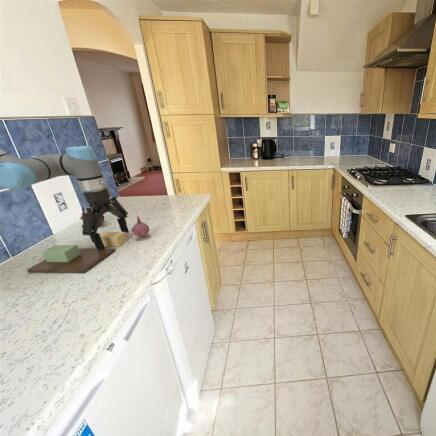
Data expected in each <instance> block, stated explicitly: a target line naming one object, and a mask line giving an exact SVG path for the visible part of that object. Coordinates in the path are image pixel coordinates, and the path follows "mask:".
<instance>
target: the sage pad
mask: <svg viewBox="0 0 436 436" xmlns="http://www.w3.org/2000/svg"><path fill="white" fill-rule="evenodd" d="M78 248H79V247H78V246H77V244H54V245H52V246H51V247H49V248H47V249H46V250H43V251H42V252H41V253H42V255H43V258H44V260H45V259H46V261H47V262H69V261H71V260H73V259H74V258H76V257H77V256H79V255H80V252H79V250H78Z"/></svg>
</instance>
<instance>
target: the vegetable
mask: <svg viewBox="0 0 436 436" xmlns="http://www.w3.org/2000/svg"><path fill="white" fill-rule="evenodd" d="M136 220H137V221H136V223H135V224H134V225H133V226H132V227H131V232H132V234H133V235H134V236H135V237H138V238H139V237H140V238H145V237H146V235H148V234H149V232H150V226H149V225H148V224H147V223H145V222H142V221H141V218H140V216H139V215H136Z"/></svg>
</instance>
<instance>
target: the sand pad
mask: <svg viewBox="0 0 436 436" xmlns="http://www.w3.org/2000/svg"><path fill="white" fill-rule="evenodd" d="M100 237H101V239H102V242H103V244H104V247H121V246H122V245H123V244H125V243H126V242H128V241H129V239H128V237H127V233H125V232H121V231H105V232H104V233H102V234H101V235H100Z"/></svg>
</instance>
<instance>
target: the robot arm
mask: <svg viewBox="0 0 436 436" xmlns="http://www.w3.org/2000/svg"><path fill="white" fill-rule="evenodd" d="M103 175H104V174H103V172H102V170H101V166H100V163H99V159H98V157H97V154H96V153H95V150H94V148H93V147H92V146H90V145H80V146H69V147H66V149H65V153H53V154H52V153H51V154H46V153H42V154H35V155H32V156H30V157H29V158H20V157H18V156H16V155H13V154H11V153H8V152H6V151H3V150H1V149H0V187H2V188H5V189H9V190H19V189H23V188H29V187H30V186H32V185H35V184H39V183H41V182H45V181H48V180H52V179H54V178H58V177H67V176H75V177H76V180H77V182H78V185H79V188H80V190H81V192H82V195H83V197H84V200H85V202H86V203H87V204H88V206H87V207H82V208H81V211H82V213H83V220H82V225H83V228H82V236H89V237H90V240H91V242H92V243H93V244H94V246H95V248H96V249H105V248H106V246H104V244H103V242H102V239H101V237H100V232H98V229H99V226H100V225H99V221H100V217H102V214H103V215H105V214H107V213H110V214H112V215H113V216H115V217H117V218H116V220H117V223H118V226H119V229H120V232H125V233H126V234H129V233H130V230H129V228H128V225H127V224H128V223H127V220H126V219H127V218H128V214H129V212H128V211H127V210H126V209H125V208H124V207H123V205H122V204H121V203H120V202H119V200H118V199H117V197H116V196H111V194H110V192H109V189H108V188H107V183H106V181H105V177H104V176H103ZM95 213H96V214H95Z"/></svg>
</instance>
